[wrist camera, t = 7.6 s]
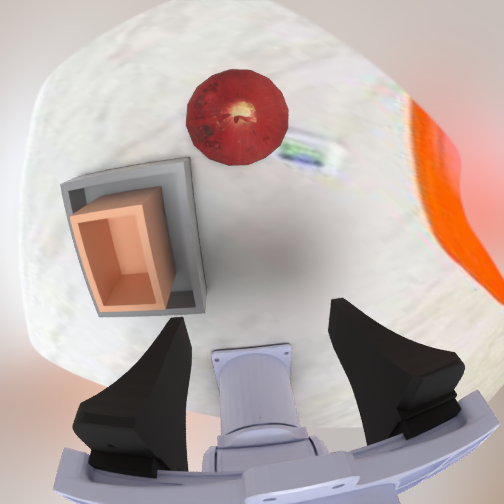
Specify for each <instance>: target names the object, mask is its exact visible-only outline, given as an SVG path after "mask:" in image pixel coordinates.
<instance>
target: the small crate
mask: <svg viewBox="0 0 504 504" xmlns="http://www.w3.org/2000/svg"><path fill="white" fill-rule="evenodd" d="M70 220H71V224H72V228H73V232H74V236H75V240H76V243H77V247H78V250H79V253H80V257H81V260H82V263H83V266H84V269H85V272H86V275H87V278H88V281H89V284H90V287H91V290H92V292H93V295H94V298H95V300H96V303H97V306H98V308H99V311H100V312H122V311H146V310H165V309H166V306H167V303H168V299H169V296H170V292H171V289H172V285H173V282H174V278H175V275H176V268H175V263H174V258H173V253H172V248H171V243H170V237H169V231H168V226H167V220H166V214H165V207H164V201H163V194H162V187H161V186H158V187H151V188H144V189H138V190H131V191H125V192H119V193H114V194H108V195H103V196H100V197H98V198H96V199H95V200H93V201H92V202H90V203H89V204H87V205H86V206H84V207H83V208H81V209H80V210H78V211H77V212H75V213H74V214H72V215H71V216H70Z"/></svg>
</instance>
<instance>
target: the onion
mask: <svg viewBox="0 0 504 504" xmlns="http://www.w3.org/2000/svg"><path fill="white" fill-rule="evenodd" d="M186 127H187V129H188V132H189V134H190V137H191V139H192V142H193V144H194V146H195V147H196V148H198V149H199V150H200V151H201V152H202V153H203V154H204V155H205V156H206V157H208V158H209V159H210V160H213V161H216V162H219V163H222V164H225V165H228V166H232V165H249V164H252V163H254V162H256V161H259V160H261V159H264V158H266V157H267V156H268V155H269V154H271V153H272V152H273V151H274V150H275V149H277V148H278V147H279V146H280V145H281V143H282V141H283V139H284V136H285V134H286V132H287V130H288V107H287V105H286V102H285V99H284V97H283V94H282V92H281V91H280V90H279V89H278V88H277V87H276V86H275V84H274V83H273V82H272V81H271V80H270V79H269V78H267V77H265V76H263V75H261V74H258V73H256V72H254V71H252V70H239V69H230V70H227V71H224V72H221V73H218V74H215V75H212V76H211V77H209V78H208V79H207V80H206V81H204V82H203V83H202V84H200V85H199V86H198V87H197V88H196V90H195V92H194V93H193V95H192V97H191V99H190V101H189V103H188V104H187V117H186Z"/></svg>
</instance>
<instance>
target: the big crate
mask: <svg viewBox="0 0 504 504" xmlns="http://www.w3.org/2000/svg"><path fill="white" fill-rule="evenodd" d="M60 186H61V191H62V196H63V201H64V206H65V210H66V215H67V219H68V223H69V227H70V231H71V235H72V239H73V242H74V246H75V249H76V253H77V256H78V259H79V263H80V266H81V269H82V272H83V275H84V278H85V281H86V284H87V287H88V290H89V292H90V295H91V298H92V300H93V303H94V306H95V308H96V311H97V313H98V316H99V317H135V316H162V315H182V314H198V313H205V307H206V296H207V290H206V283H205V277H204V270H203V264H202V257H201V250H200V242H199V235H198V227H197V219H196V211H195V203H194V194H193V185H192V175H191V165H190V157H186V158H178V159H170V160H163V161H156V162H150V163H143V164H137V165H131V166H126V167H120V168H115V169H110V170H105V171H100V172H95V173H91V174H86V175H82V176H78V177H76V178H74V179H71V180H69V181H67V182H64V183H62V184H60ZM158 186H161V187H162V194H163V201H164V207H165V214H166V220H167V226H168V231H169V237H170V243H171V248H172V253H173V258H174V263H175V268H176V275H175V278H174V282H173V285H172V289H171V292H170V296H169V299H168V303H167V306H166V309H165V310H146V311H122V312H100V311H99V308H98V306H97V303H96V300H95V298H94V295H93V292H92V290H91V287H90V284H89V281H88V278H87V275H86V272H85V269H84V266H83V263H82V260H81V257H80V253H79V250H78V247H77V243H76V240H75V236H74V232H73V228H72V224H71V220H70V216H71V215H72V214H74V213H75V212H77V211H78V210H80V209H81V208H83V207H84V206H86V205H87V204H89V203H90V202H92V201H93V200H95V199H96V198H98V197H100V196H103V195H108V194H114V193H119V192H125V191H131V190H138V189H144V188H151V187H158Z"/></svg>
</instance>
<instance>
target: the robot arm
mask: <svg viewBox="0 0 504 504" xmlns="http://www.w3.org/2000/svg"><path fill="white" fill-rule="evenodd" d="M328 332H329V336H330V339H331V342H332V345H333V348H334V350H335V352H336V354H337V356H338V358H339V360H340V363H341V365H342V367H343V369H344V371H345V373H346V375H347V377H348V379H349V382H350V384H351V386H352V389H353V392H354V395H355V399H356V402H357V405H358V409H359V412H360V416H361V420H362V424H363V428H364V432H365V437H366V442H367V446H366V447H362V448H359V449H356V450H352V451H349V452H347V451H338V452H331V453H329V451H328V449H327V447H326V445H325V443H324V442H323V441H322V440H320V439H319V438H318V437H317V436H315V435H313V436H308V434H307V430H306V427H301V426H300V421H299V417H298V413H297V409H296V405H295V401H294V397H293V393H292V389H291V385H290V370H291V353H292V348H291V345H289V344H284V345H276V346H267V347H258V348H247V349H236V350H223V351H214V352H212V356H211V357H212V362H213V366H214V371H215V375H216V379H217V384H218V388H219V392H220V413H221V436H218V447H217V446H211V447H210V448H209V449H208V450H207V451H206V452H205V454H204V456H203V463H202V464H203V465H202V472H188V462H187V448H186V401H187V394H188V387H189V380H190V373H191V365H192V346H191V343H190V340H189V336H188V333H187V329H186V325H185V322H184V318H183V317H174V318H170V320H169V321H168V322H167V324H166V325H165V327H164V328H163V330H162V331H161V333H160V334H159V335H158V337H157V338H156V339H155V341H154V342H153V343H152V345H151V346H150V347H149V349H148V350H147V351H146V352H145V353H144V355H143V356H142V357H141V358H140V359H139V361H138V362H137V363H136V364H135V365H134V366H133V367H132V368H131V369H130V370H129V371H128V372H126V373H125V374H124V375H123V376H122V377H120V378H119V379H118V380H117V381H116V382H114V383H113V384H112V385H110V386H109V387H107V388H106V389H104V390H103V391H101V392H100V393H98V394H97V395H95V396H93V397H91V398H89V399H88V400H86V401H84V402H82V403H80V406H79V408H78V411H77V414H76V417H75V420H74V423H73V430H74V432H75V434H76V435H77V436H78V437H79V438H80V439H81V440H82V441H83V442H84V443H85V444H86V445H87V446H88V447H89V448H90V449H91V454H90V455H89V454H87V453H85V452H81V451H77V450H73V449H69V448H64V449H63V452H62V456H61V459H60V463H59V467H58V470H57V475H56V478H55V483H54V487H53V490H54V492H56V493H58V494H59V495H61V496H63V497H65V498H66V499H68V500H70V501H72V502H73V503H75V504H400V502H399V498H398V496H397V494H399V493H401V492H404V491H405V490H408V489H410V488H412V487H414V486H416V485H417V484H419V483H421V482H423V481H425V480H427V479H429V478H430V477H432V476H434V475H436V474H437V473H439V472H441V471H442V470H444V469H446V468H447V467H449V466H451V465H452V464H454V463H455V462H457V461H459V460H460V459H462V458H463V457H465V456H466V455H468V454H469V453H471V452H472V451H473V450H475V449H476V448H477V447H478V446H479V445H480V444H481V443H482V442H484V441H485V440H486V438H488V437H489V436H490V435H491V434H492V432H493V431H494V430H495V429H496V428H497V427H498V426H499V425H500V422H499V421H498V419H497V417H496V416H495V414H494V413H493V412H492V410H491V408H490V407H489V405H488V404H487V402H486V401H485V399H484V398H483V396H482V395H481V393H480V392H479V391H478V390H476V391H474V392H472V393H470V394H469V395H467V396H465V397H464V398H462V399H461V400H460V401H458V402H457V401H456V399H455V398H456V396H457V393H456V392H455V390H454V389H455V387H456V386H457V384H458V382H459V381H460V379H461V377H462V375H463V373H464V370H465V365H464V363H463V362H462V361H461V359H460V358H459V357H458V355H457V354H456V353H455V352H451V351H445V350H440V349H436V348H432V347H429V346H426V345H423V344H420V343H417V342H414V341H412V340H409V339H407V338H405V337H403V336H401V335H399V334H397V333H395V332H393V331H391V330H389V329H387V328H386V327H384V326H382V325H381V324H379V323H377V322H376V321H374V320H373V319H372V318H370V317H369V316H367V315H366V314H364V313H363V312H362V311H360V310H359V309H358V308H356V307H355V306H354V305H352V304H351V303H350V302H348V301H347V300H345V299H344V298H338V299H331V308H330V318H329V327H328ZM285 352H286V353H285ZM216 358H217V359H216Z"/></svg>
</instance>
